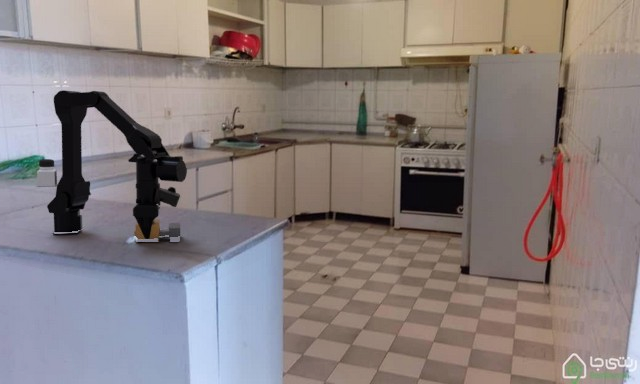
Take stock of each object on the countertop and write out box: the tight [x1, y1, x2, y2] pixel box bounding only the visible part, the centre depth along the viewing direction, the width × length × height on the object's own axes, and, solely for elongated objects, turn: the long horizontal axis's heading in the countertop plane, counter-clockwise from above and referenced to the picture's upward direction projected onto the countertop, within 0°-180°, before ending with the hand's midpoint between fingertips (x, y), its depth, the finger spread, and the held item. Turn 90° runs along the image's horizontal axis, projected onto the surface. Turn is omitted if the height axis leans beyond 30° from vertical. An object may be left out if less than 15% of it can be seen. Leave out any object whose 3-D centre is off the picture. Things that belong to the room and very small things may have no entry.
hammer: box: [133, 222, 181, 239], centre depth 140 cm, size 12×7×4 cm, turn 105°
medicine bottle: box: [36, 158, 58, 188], centre depth 232 cm, size 7×7×12 cm
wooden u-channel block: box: [135, 219, 161, 239], centre depth 140 cm, size 6×6×5 cm
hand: (147, 235), depth 140 cm, fingers closed on wooden u-channel block, 6 cm apart
